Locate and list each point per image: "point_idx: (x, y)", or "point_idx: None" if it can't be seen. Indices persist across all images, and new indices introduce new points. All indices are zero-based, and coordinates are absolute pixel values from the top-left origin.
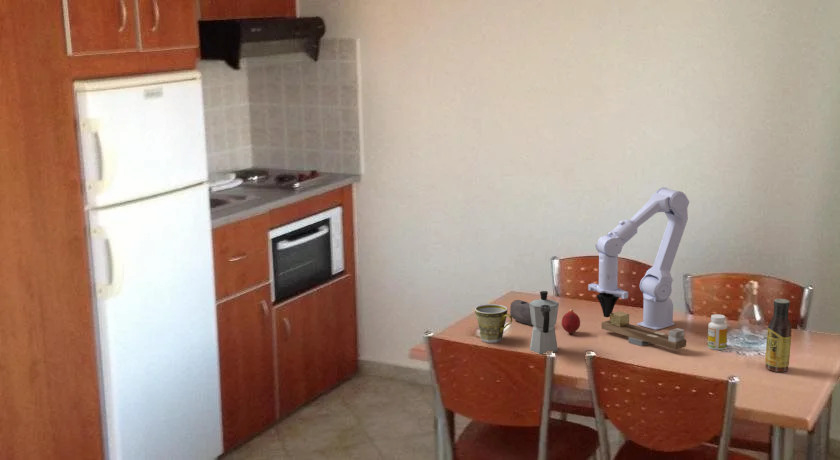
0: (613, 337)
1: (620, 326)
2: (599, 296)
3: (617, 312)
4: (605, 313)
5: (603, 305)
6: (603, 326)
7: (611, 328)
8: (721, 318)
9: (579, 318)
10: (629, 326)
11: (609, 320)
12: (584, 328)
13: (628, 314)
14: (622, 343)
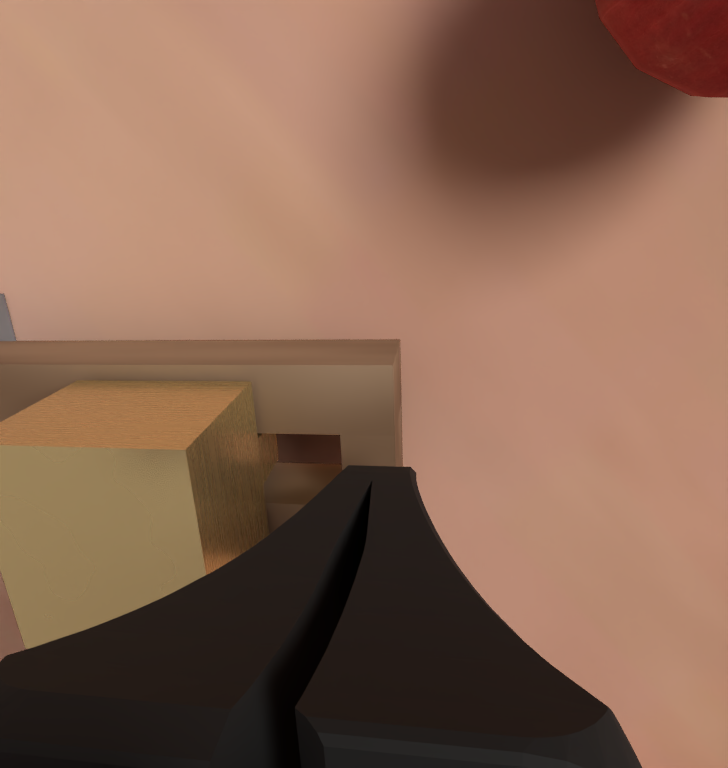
0: (215, 309)
1: None
2: (405, 741)
3: None
4: (351, 484)
5: (362, 567)
6: (365, 351)
7: (227, 352)
8: None
9: (691, 21)
10: None
11: None
12: (687, 318)
13: (26, 627)
14: (7, 222)
